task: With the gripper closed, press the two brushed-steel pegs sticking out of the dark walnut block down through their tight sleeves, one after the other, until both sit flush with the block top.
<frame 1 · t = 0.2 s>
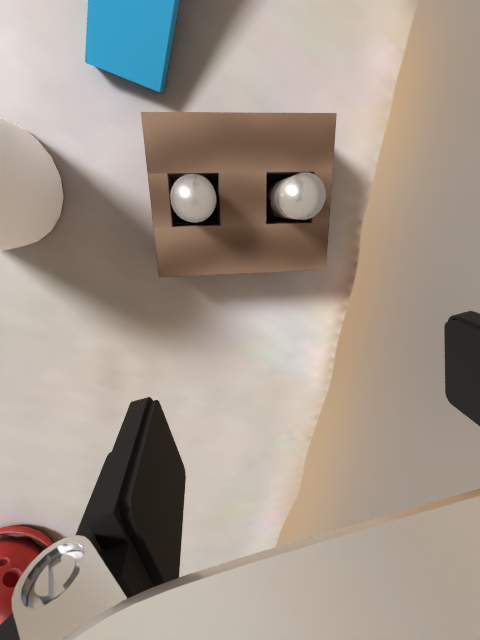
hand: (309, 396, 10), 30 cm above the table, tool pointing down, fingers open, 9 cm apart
white jar: (4, 185, 33), on the table
peg 1: (194, 200, 28), point 8 cm above the table, slide at 4.5 cm
peg 2: (292, 198, 29), point 8 cm above the table, slide at 4.5 cm
walnut block: (235, 201, 36), on the table
plant pot: (19, 545, 50), on the table
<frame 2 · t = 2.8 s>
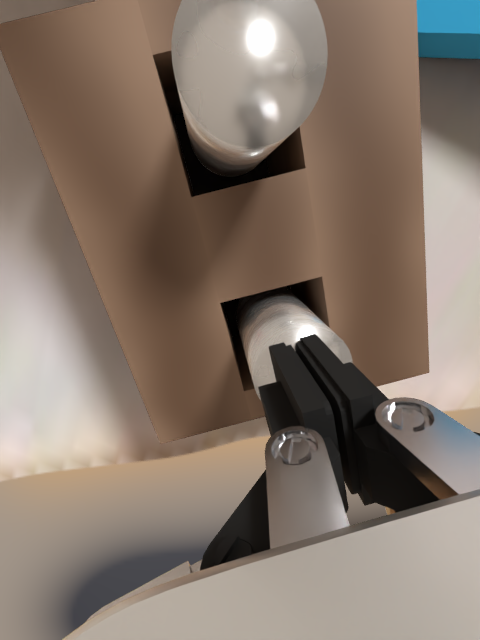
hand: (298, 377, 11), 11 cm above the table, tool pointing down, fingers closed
peg 1: (237, 106, 11), point 8 cm above the table, slide at 4.5 cm
peg 2: (281, 337, 14), point 7 cm above the table, slide at 3.6 cm, touching gripper
walnut block: (242, 230, 20), on the table
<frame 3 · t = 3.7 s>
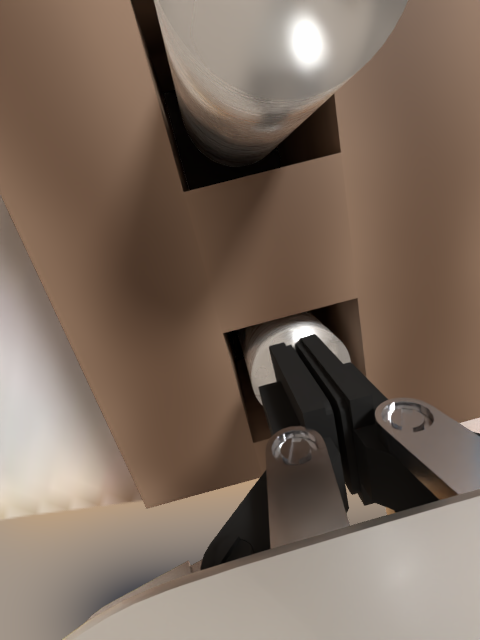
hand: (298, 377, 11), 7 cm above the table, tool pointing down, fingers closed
peg 1: (249, 58, 7), point 8 cm above the table, slide at 4.5 cm
peg 2: (279, 338, 14), point 4 cm above the table, slide at 0.0 cm, touching gripper
walnut block: (248, 234, 16), on the table
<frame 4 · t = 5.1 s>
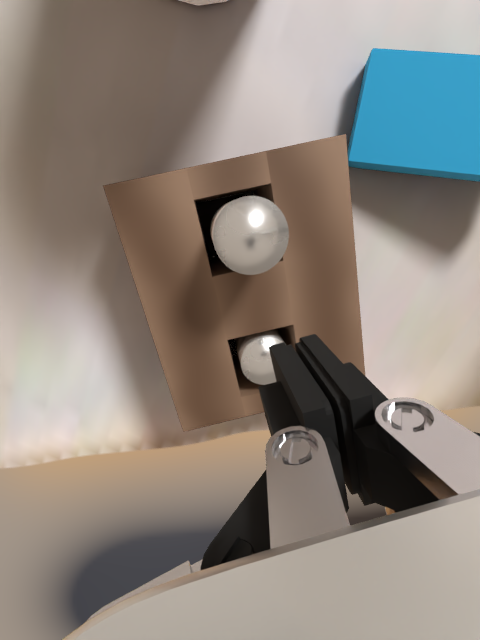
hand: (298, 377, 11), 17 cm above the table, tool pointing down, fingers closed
peg 1: (242, 232, 18), point 8 cm above the table, slide at 4.5 cm
peg 2: (258, 342, 25), point 3 cm above the table, slide at 0.0 cm
walnut block: (241, 280, 27), on the table
blue block: (452, 137, 26), on the table
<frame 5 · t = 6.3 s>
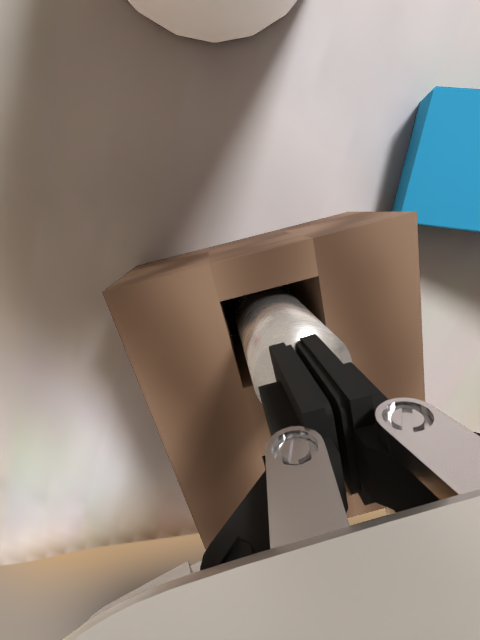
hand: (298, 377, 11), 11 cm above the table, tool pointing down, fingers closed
peg 1: (281, 338, 14), point 7 cm above the table, slide at 4.0 cm, touching gripper
walnut block: (269, 355, 23), on the table
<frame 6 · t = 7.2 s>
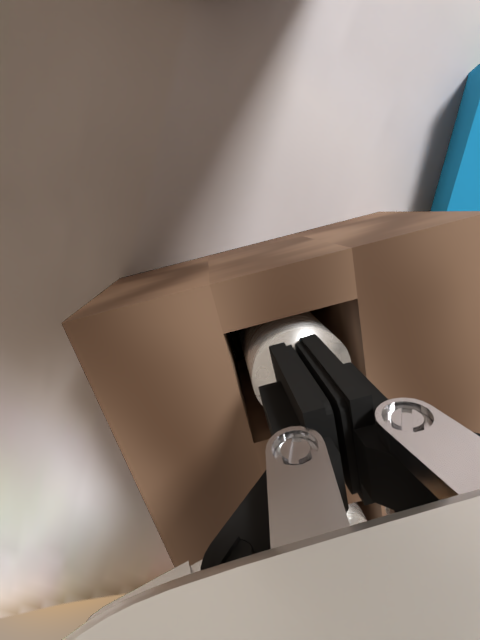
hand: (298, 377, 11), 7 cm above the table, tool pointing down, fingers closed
peg 1: (280, 338, 14), point 4 cm above the table, slide at 0.0 cm, touching gripper
peg 2: (310, 483, 17), point 3 cm above the table, slide at 0.0 cm
walnut block: (281, 382, 19), on the table
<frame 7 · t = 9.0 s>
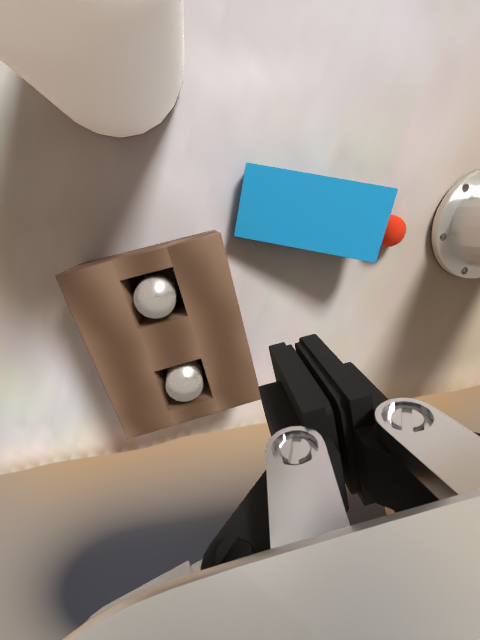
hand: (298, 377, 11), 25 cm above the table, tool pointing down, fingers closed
white jar: (112, 60, 28), on the table
peg 1: (158, 290, 31), point 3 cm above the table, slide at 0.0 cm
peg 2: (184, 369, 34), point 3 cm above the table, slide at 0.0 cm
walnut block: (173, 320, 36), on the table
blue block: (318, 218, 35), on the table
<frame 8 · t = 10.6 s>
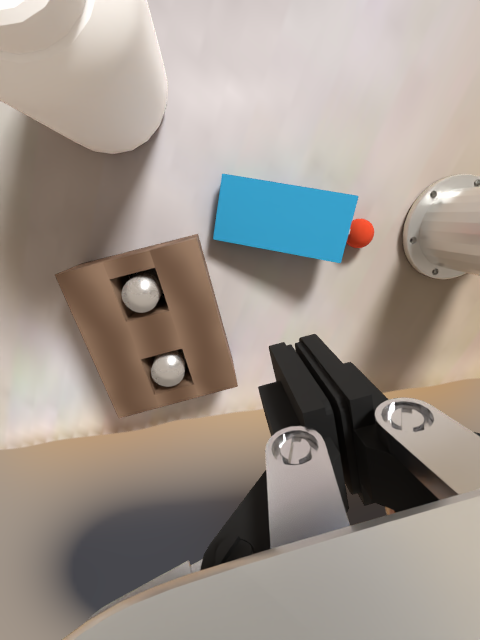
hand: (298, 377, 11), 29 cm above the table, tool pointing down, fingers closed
white jar: (106, 86, 32), on the table
peg 1: (146, 287, 35), point 3 cm above the table, slide at 0.0 cm
peg 2: (170, 358, 38), point 3 cm above the table, slide at 0.0 cm
walnut block: (162, 315, 40), on the table
blue block: (293, 221, 38), on the table
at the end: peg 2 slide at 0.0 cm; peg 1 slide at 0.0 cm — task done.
